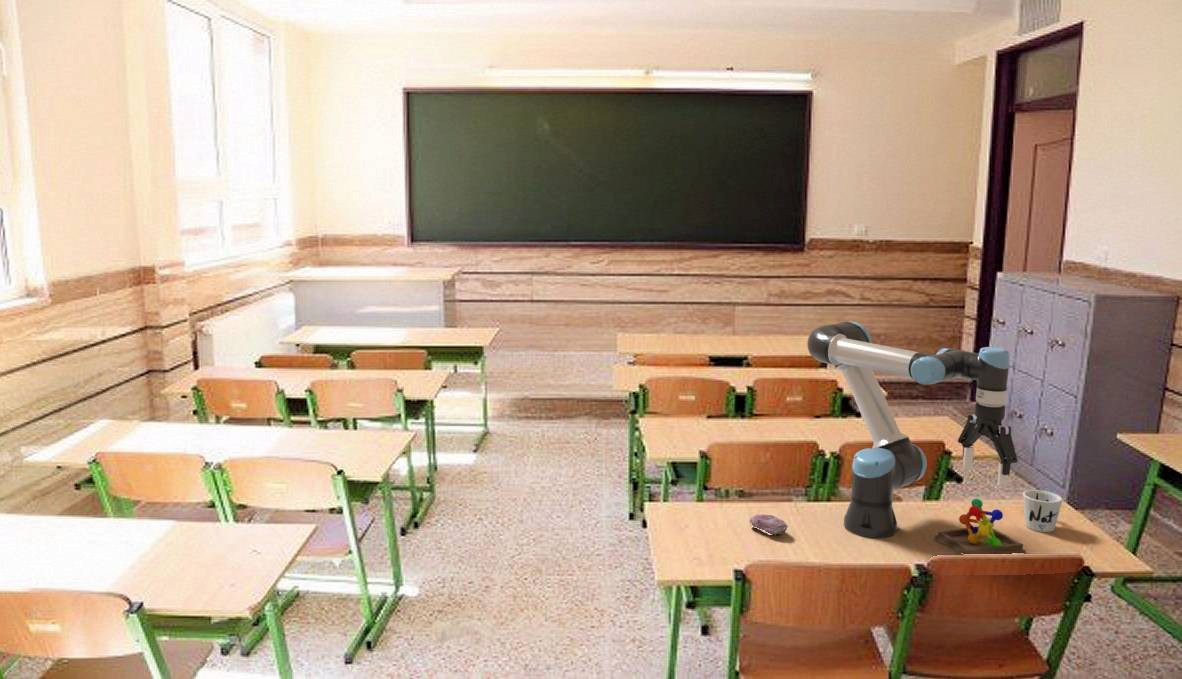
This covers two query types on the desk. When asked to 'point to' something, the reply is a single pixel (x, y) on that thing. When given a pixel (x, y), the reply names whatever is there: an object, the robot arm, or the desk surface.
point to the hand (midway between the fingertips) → (984, 477)
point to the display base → (960, 543)
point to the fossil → (769, 523)
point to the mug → (1041, 510)
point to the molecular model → (981, 524)
